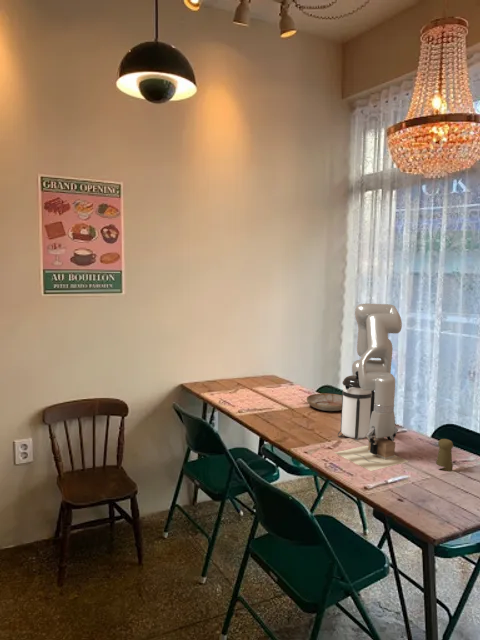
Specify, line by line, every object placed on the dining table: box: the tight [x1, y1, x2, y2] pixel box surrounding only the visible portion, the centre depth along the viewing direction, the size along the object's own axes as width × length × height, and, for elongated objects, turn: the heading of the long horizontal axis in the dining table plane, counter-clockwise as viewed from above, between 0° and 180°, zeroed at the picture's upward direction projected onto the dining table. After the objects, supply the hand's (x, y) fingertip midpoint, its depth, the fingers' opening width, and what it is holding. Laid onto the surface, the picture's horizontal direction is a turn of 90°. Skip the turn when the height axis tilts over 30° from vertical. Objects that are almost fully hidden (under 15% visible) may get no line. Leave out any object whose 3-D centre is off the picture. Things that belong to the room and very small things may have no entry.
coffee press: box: [337, 371, 375, 441], centre depth 219 cm, size 17×16×30 cm
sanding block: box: [368, 437, 396, 460], centre depth 196 cm, size 9×5×6 cm, turn 30°
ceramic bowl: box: [306, 392, 342, 412], centre depth 265 cm, size 23×24×5 cm
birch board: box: [334, 444, 410, 472], centre depth 194 cm, size 20×20×2 cm
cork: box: [435, 438, 454, 472], centre depth 188 cm, size 6×6×11 cm
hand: (381, 451), depth 196 cm, fingers open, 7 cm apart
